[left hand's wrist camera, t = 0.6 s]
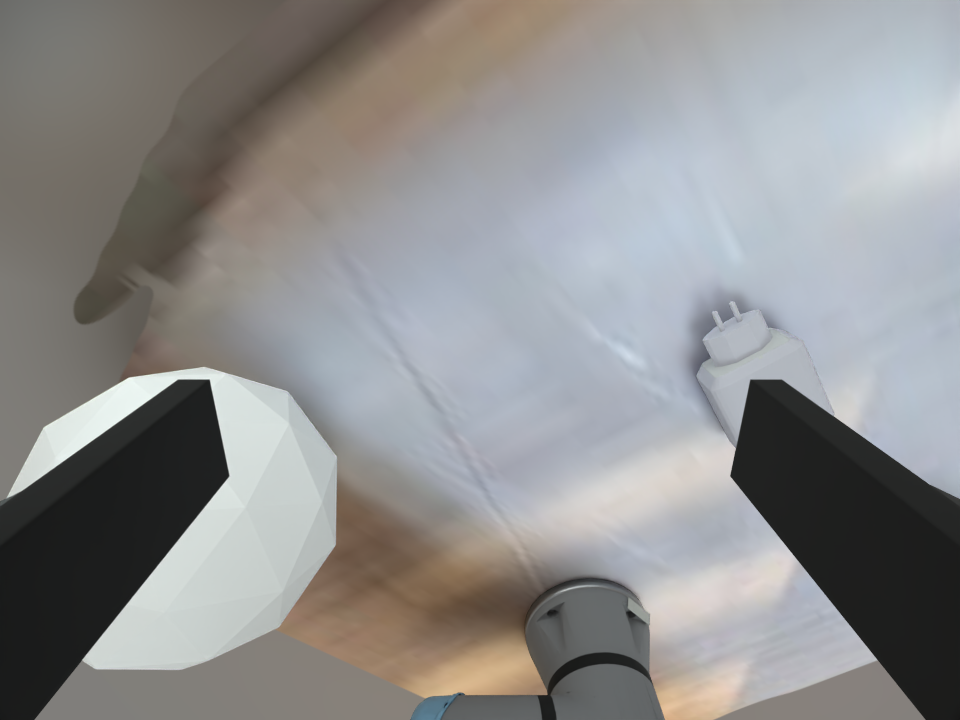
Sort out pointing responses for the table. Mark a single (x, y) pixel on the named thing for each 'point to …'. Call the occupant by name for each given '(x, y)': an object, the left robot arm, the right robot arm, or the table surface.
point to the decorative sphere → (216, 524)
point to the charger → (753, 365)
